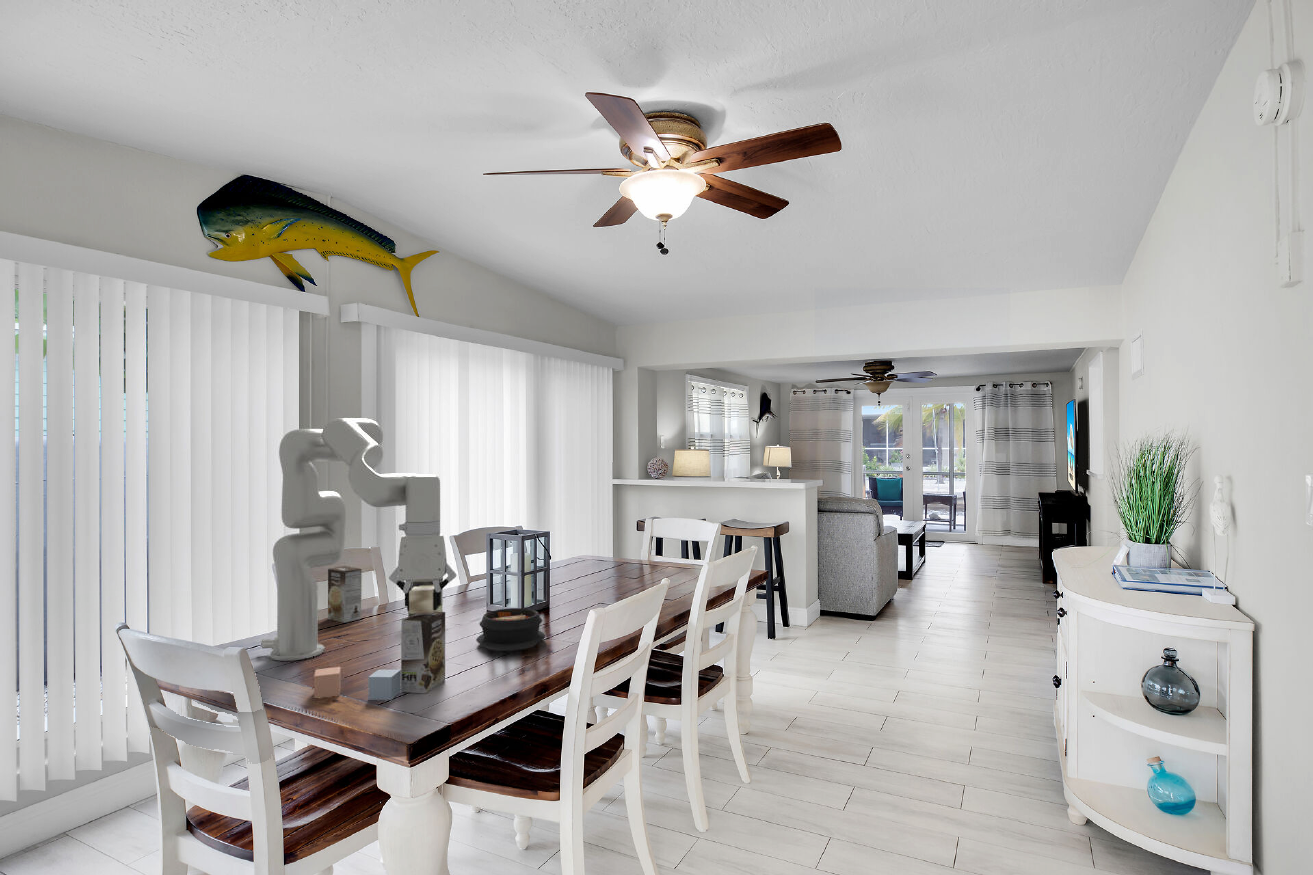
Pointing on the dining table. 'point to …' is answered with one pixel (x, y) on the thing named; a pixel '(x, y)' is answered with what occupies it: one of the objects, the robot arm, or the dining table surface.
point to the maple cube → (421, 599)
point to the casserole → (510, 629)
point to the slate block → (384, 684)
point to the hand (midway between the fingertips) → (423, 608)
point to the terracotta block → (327, 682)
